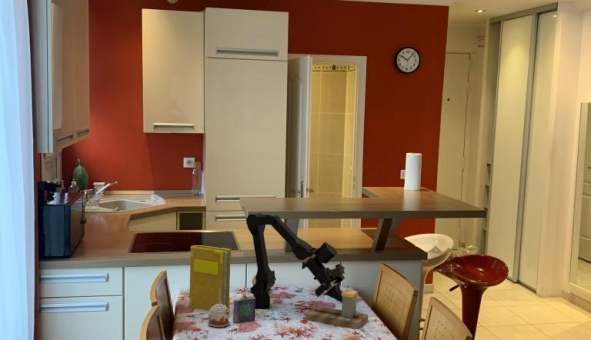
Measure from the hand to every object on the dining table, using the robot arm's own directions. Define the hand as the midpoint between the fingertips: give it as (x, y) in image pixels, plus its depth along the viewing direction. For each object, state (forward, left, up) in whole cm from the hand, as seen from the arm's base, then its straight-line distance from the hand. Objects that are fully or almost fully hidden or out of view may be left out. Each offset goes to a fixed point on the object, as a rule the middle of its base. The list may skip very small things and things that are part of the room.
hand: (343, 302), depth 227 cm
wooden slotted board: (-2, +2, -8) cm, 8 cm away
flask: (-38, +6, -8) cm, 40 cm away
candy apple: (-48, +3, -8) cm, 49 cm away
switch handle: (+2, -1, -7) cm, 7 cm away
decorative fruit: (-23, +46, -8) cm, 52 cm away
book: (-50, +25, -8) cm, 57 cm away
